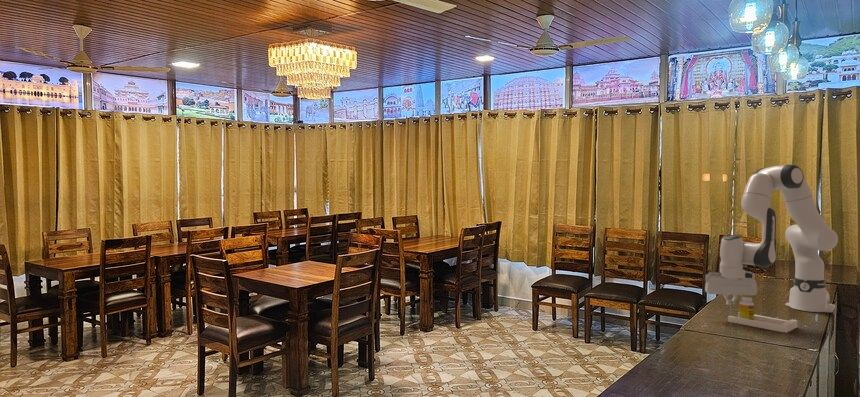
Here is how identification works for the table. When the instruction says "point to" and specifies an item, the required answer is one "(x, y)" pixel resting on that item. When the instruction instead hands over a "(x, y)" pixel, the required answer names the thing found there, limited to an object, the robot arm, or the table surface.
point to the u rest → (766, 323)
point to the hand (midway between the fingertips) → (730, 304)
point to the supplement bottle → (746, 308)
